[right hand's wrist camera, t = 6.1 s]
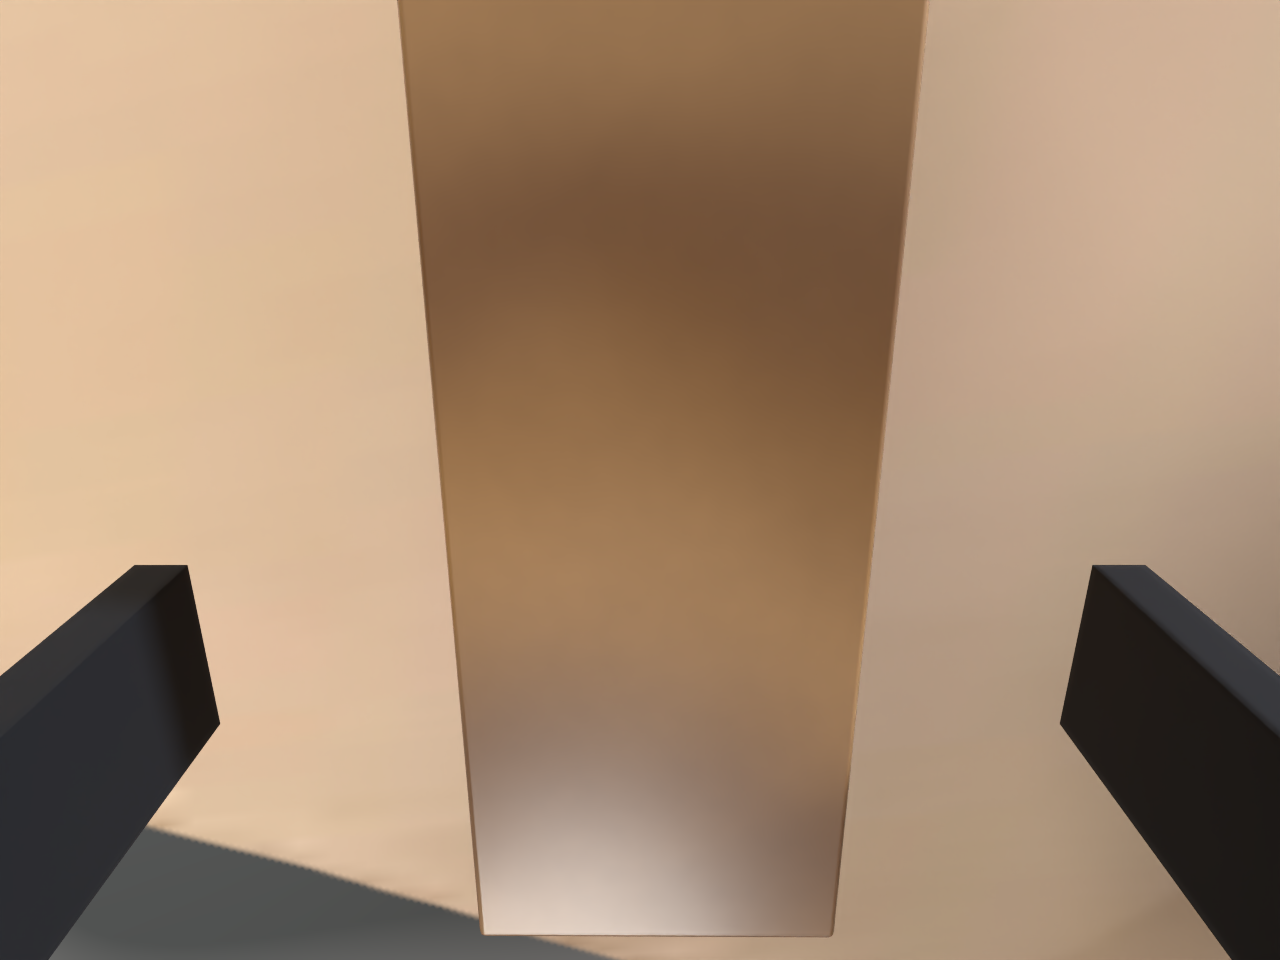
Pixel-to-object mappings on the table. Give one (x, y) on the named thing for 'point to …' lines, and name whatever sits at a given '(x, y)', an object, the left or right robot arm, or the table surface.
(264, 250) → the table surface
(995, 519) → the table surface
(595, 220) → the bar
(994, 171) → the table surface
